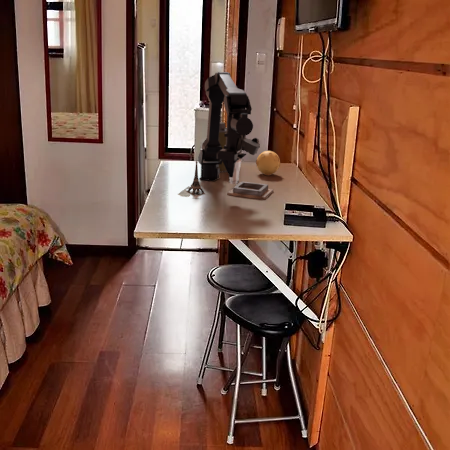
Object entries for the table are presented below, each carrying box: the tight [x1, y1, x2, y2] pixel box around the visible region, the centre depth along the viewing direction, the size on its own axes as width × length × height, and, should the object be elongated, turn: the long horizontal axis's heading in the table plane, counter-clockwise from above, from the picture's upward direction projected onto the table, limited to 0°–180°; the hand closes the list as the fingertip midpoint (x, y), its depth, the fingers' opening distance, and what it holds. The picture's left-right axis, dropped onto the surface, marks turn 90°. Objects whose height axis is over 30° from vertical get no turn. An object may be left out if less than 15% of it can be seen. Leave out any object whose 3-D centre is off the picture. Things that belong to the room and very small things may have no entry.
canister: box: [219, 121, 228, 173], centre depth 238 cm, size 11×10×20 cm
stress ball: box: [255, 150, 281, 176], centre depth 234 cm, size 10×10×10 cm
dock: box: [226, 181, 274, 200], centre depth 207 cm, size 14×12×3 cm
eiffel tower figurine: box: [177, 160, 206, 200], centre depth 203 cm, size 15×10×13 cm
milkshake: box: [228, 157, 242, 185], centre depth 192 cm, size 4×5×10 cm
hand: (232, 175), depth 193 cm, fingers closed on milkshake, 4 cm apart
